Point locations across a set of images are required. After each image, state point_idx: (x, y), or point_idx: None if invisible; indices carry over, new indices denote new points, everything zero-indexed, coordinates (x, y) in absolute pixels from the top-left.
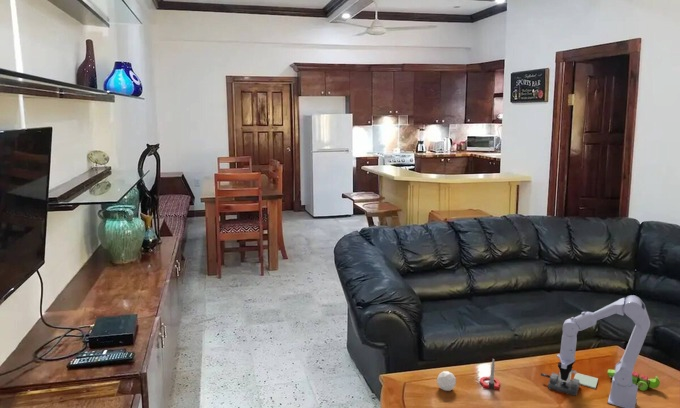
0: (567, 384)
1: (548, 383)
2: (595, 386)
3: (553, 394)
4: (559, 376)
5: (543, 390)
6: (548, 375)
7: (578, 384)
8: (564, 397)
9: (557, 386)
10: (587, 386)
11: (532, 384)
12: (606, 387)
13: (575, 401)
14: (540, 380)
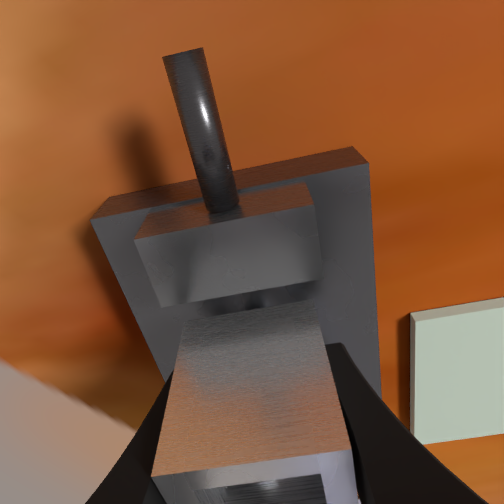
0: None
1: (98, 217)
2: (431, 441)
3: (49, 279)
4: (178, 366)
5: (19, 183)
6: (209, 180)
7: None
8: (95, 351)
9: (131, 305)
10: (411, 400)
11: (7, 9)
12: (477, 463)
13: (117, 411)
14: (206, 47)
